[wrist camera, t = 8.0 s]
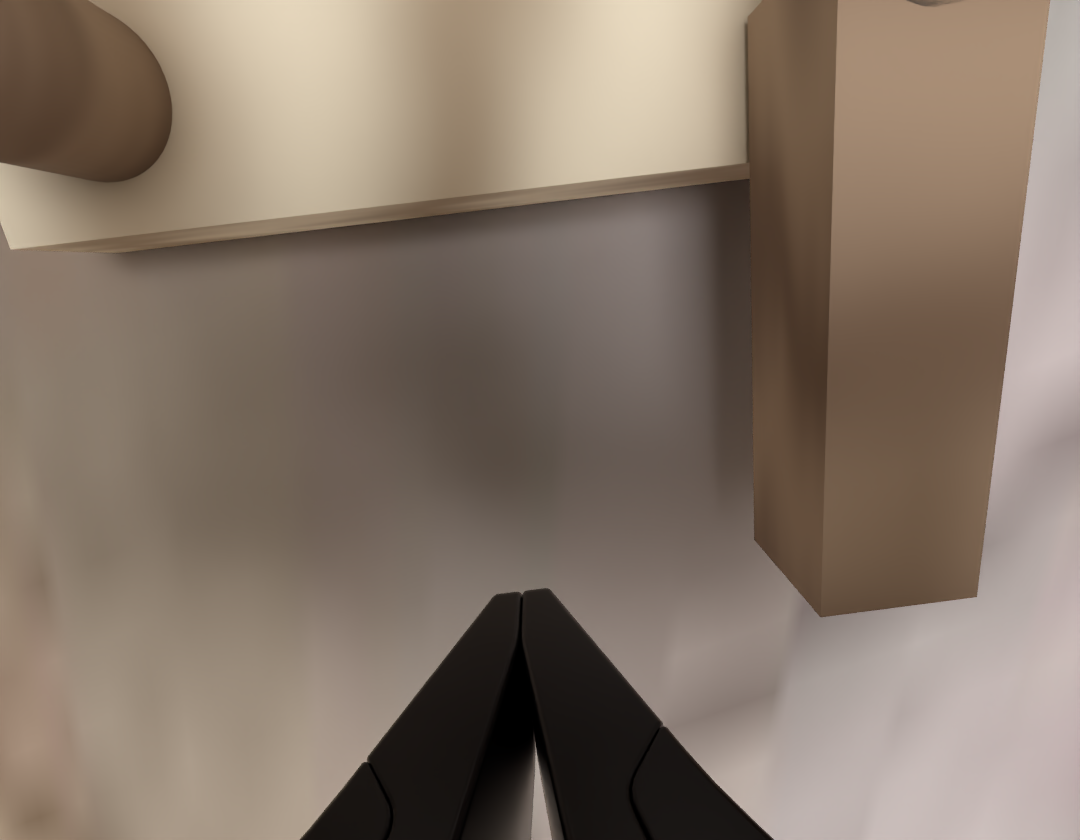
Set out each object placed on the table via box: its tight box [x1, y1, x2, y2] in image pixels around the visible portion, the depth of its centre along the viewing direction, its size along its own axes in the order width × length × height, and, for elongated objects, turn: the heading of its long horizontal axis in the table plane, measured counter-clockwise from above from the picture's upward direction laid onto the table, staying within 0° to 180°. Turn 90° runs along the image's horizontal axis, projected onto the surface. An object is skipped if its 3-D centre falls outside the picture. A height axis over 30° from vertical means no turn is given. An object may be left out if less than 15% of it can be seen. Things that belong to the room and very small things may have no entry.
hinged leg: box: [748, 0, 1050, 617], centre depth 10 cm, size 12×3×3 cm, turn 7°
